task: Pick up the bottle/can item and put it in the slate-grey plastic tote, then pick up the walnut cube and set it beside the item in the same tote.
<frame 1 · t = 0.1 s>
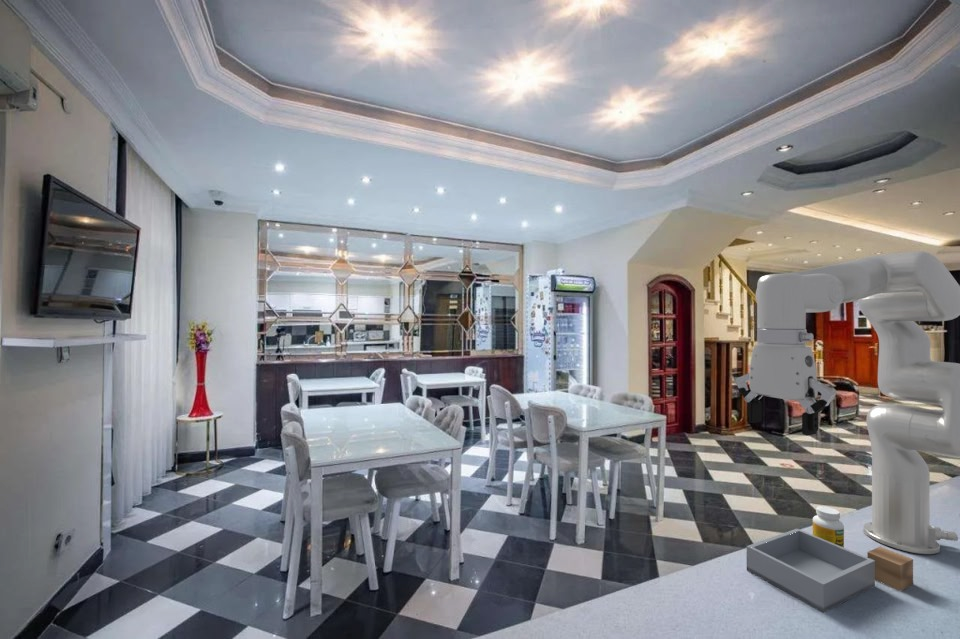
hand: (780, 427, 79), 31 cm above the countertop, tool pointing down, fingers open, 9 cm apart
walnut cube: (889, 580, 82), on the countertop
supplement bottle: (827, 553, 92), on the countertop
tote: (808, 578, 83), on the countertop
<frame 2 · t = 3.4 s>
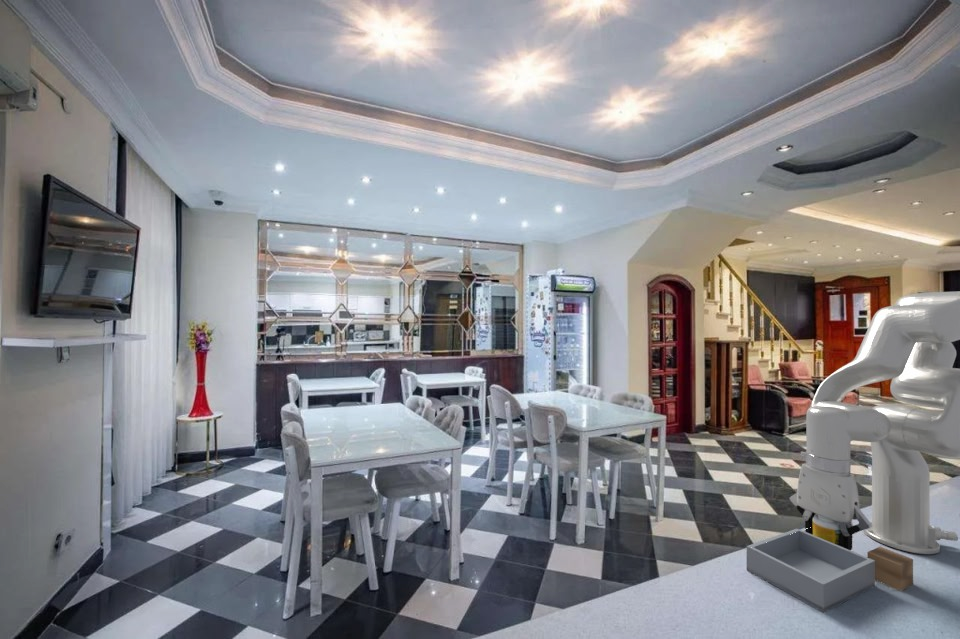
hand: (827, 543, 92), 2 cm above the countertop, tool pointing down, fingers closed on supplement bottle, 5 cm apart
supplement bottle: (827, 553, 92), on the countertop, touching gripper
everything else where it was.
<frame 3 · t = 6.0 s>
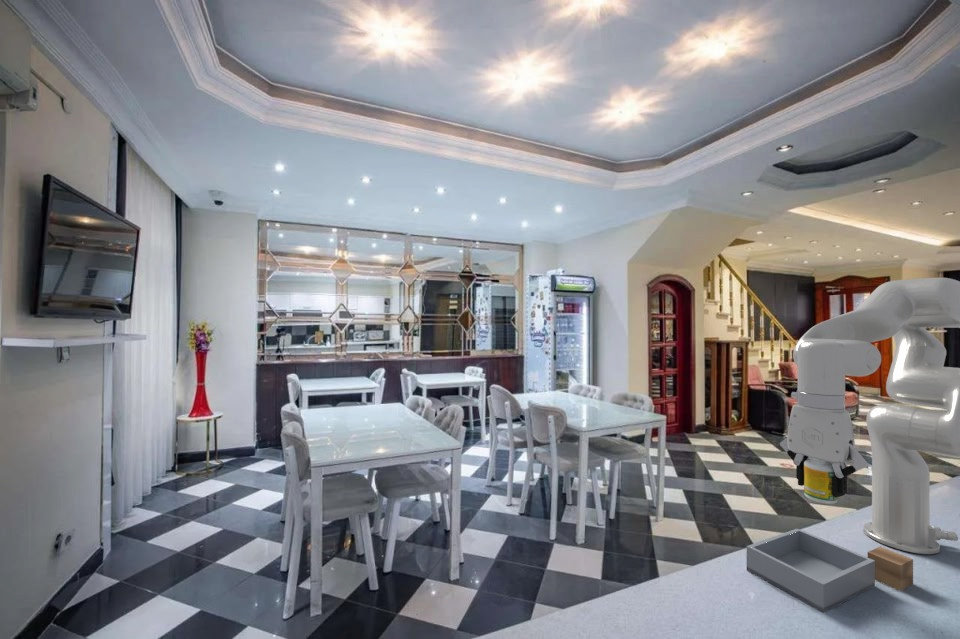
hand: (820, 489, 85), 17 cm above the countertop, tool pointing down, fingers closed on supplement bottle, 5 cm apart
supplement bottle: (820, 499, 85), point 15 cm above the countertop, touching gripper
everything else where it was.
when the fingers open (5 cm above the countertop, at t = 8.6 s): supplement bottle drops 2 cm, resting on tote.
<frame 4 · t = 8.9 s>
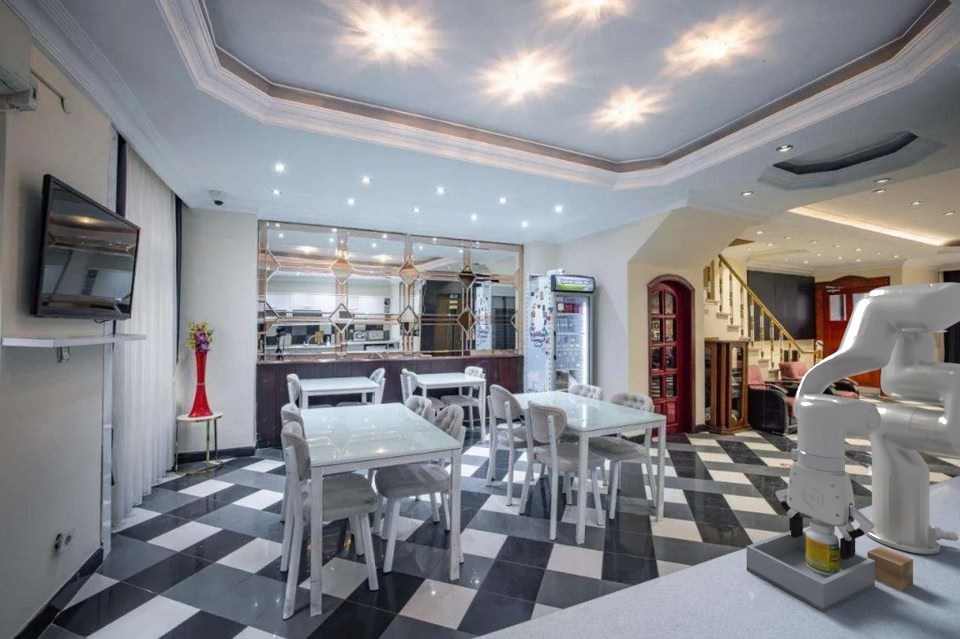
hand: (820, 546, 85), 6 cm above the countertop, tool pointing down, fingers open, 8 cm apart
supplement bottle: (822, 570, 84), point 1 cm above the countertop, touching tote
everything else where it was.
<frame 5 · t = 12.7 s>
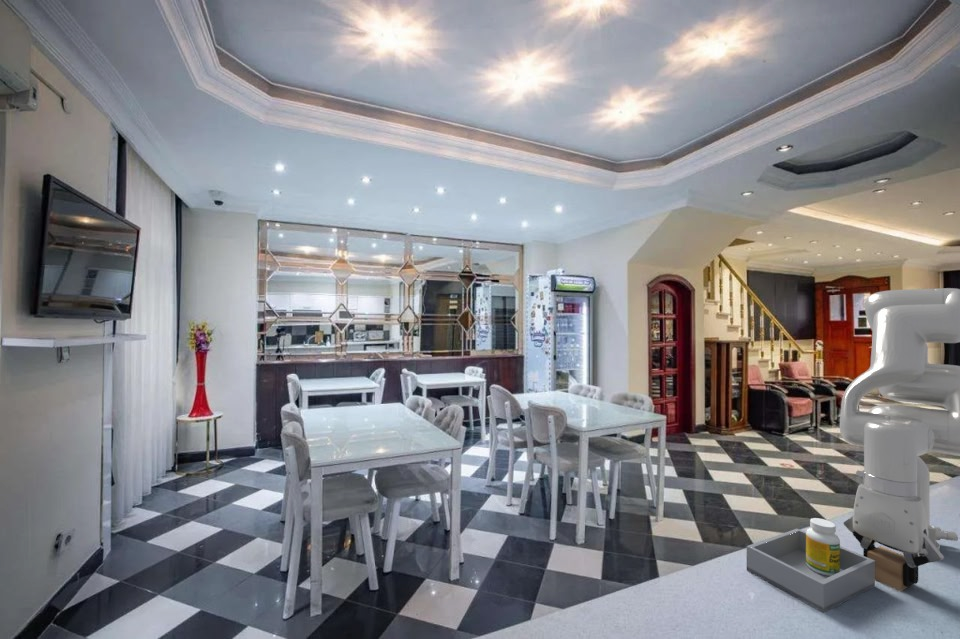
hand: (889, 575, 82), 1 cm above the countertop, tool pointing down, fingers closed on walnut cube, 5 cm apart
walnut cube: (889, 580, 82), on the countertop, touching gripper
everything else where it was.
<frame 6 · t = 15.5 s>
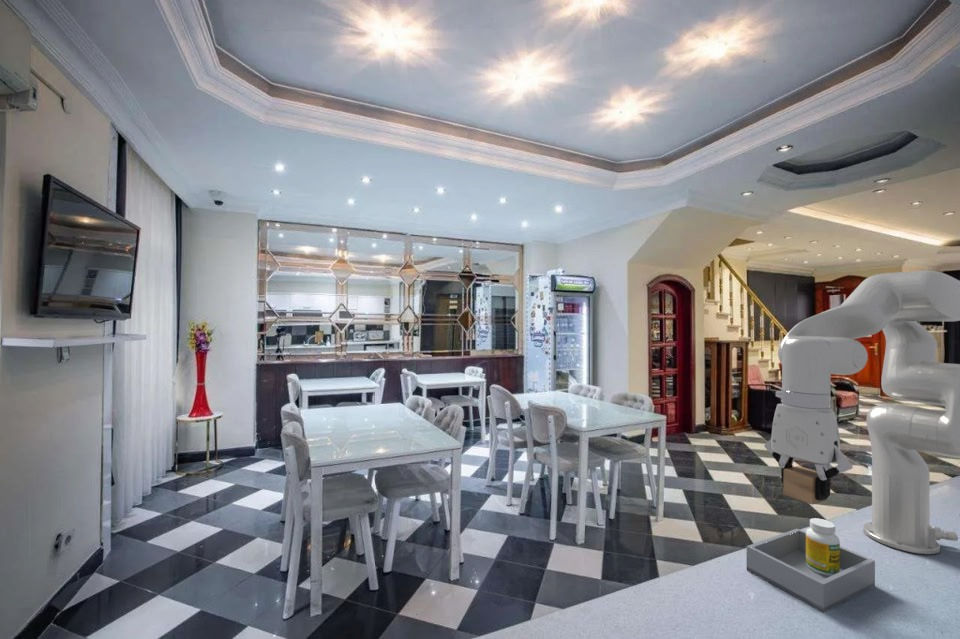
hand: (804, 492, 81), 18 cm above the countertop, tool pointing down, fingers closed on walnut cube, 5 cm apart
walnut cube: (804, 497, 81), point 17 cm above the countertop, touching gripper
everything else where it was.
when the fingers open (4 cm above the countertop, at t = 18.7 s): walnut cube drops 2 cm, resting on tote.
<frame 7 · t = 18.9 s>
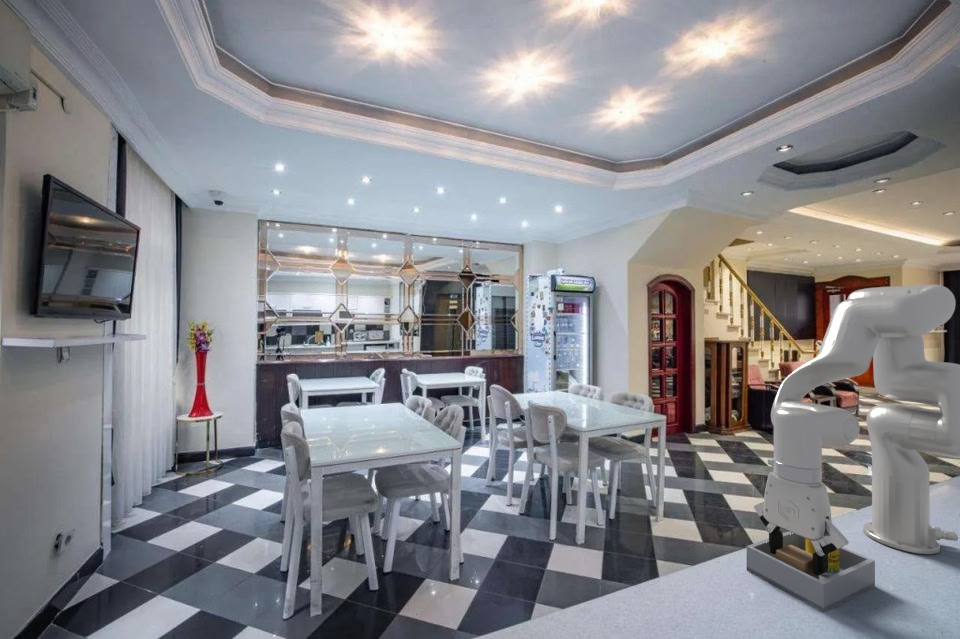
hand: (797, 561, 81), 4 cm above the countertop, tool pointing down, fingers open, 7 cm apart
walnut cube: (797, 579, 81), point 1 cm above the countertop, touching tote
everything else where it was.
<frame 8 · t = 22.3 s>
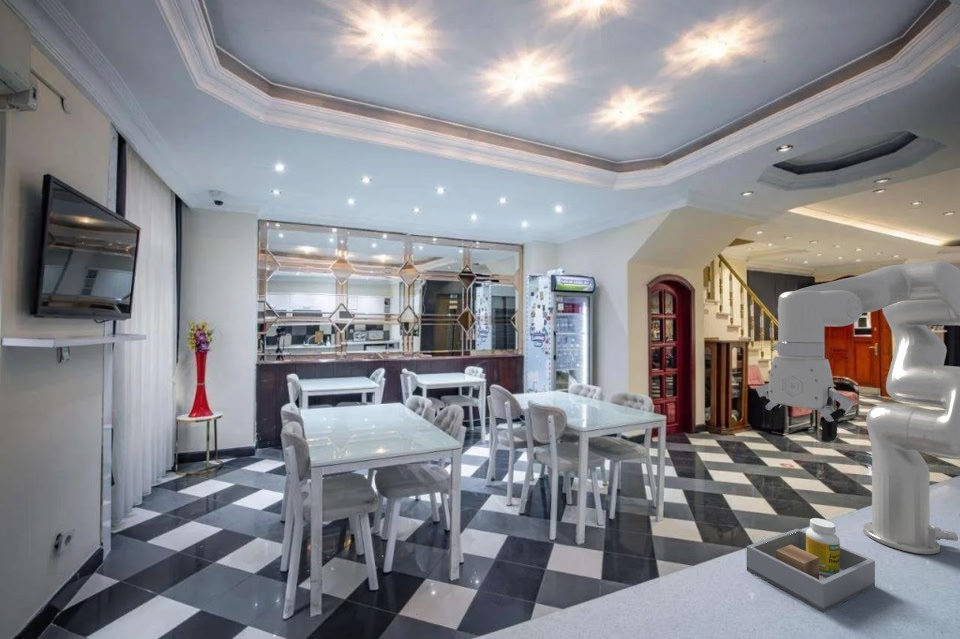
hand: (800, 434, 85), 28 cm above the countertop, tool pointing down, fingers open, 9 cm apart
nothing on the countertop moved.
at the end: supplement bottle 4.3 cm from the tote (horizontally); walnut cube 3.9 cm from the tote (horizontally); walnut cube inside the target area on the tote (4.0 cm from its centre), point 0.8 cm above the tote's base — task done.
